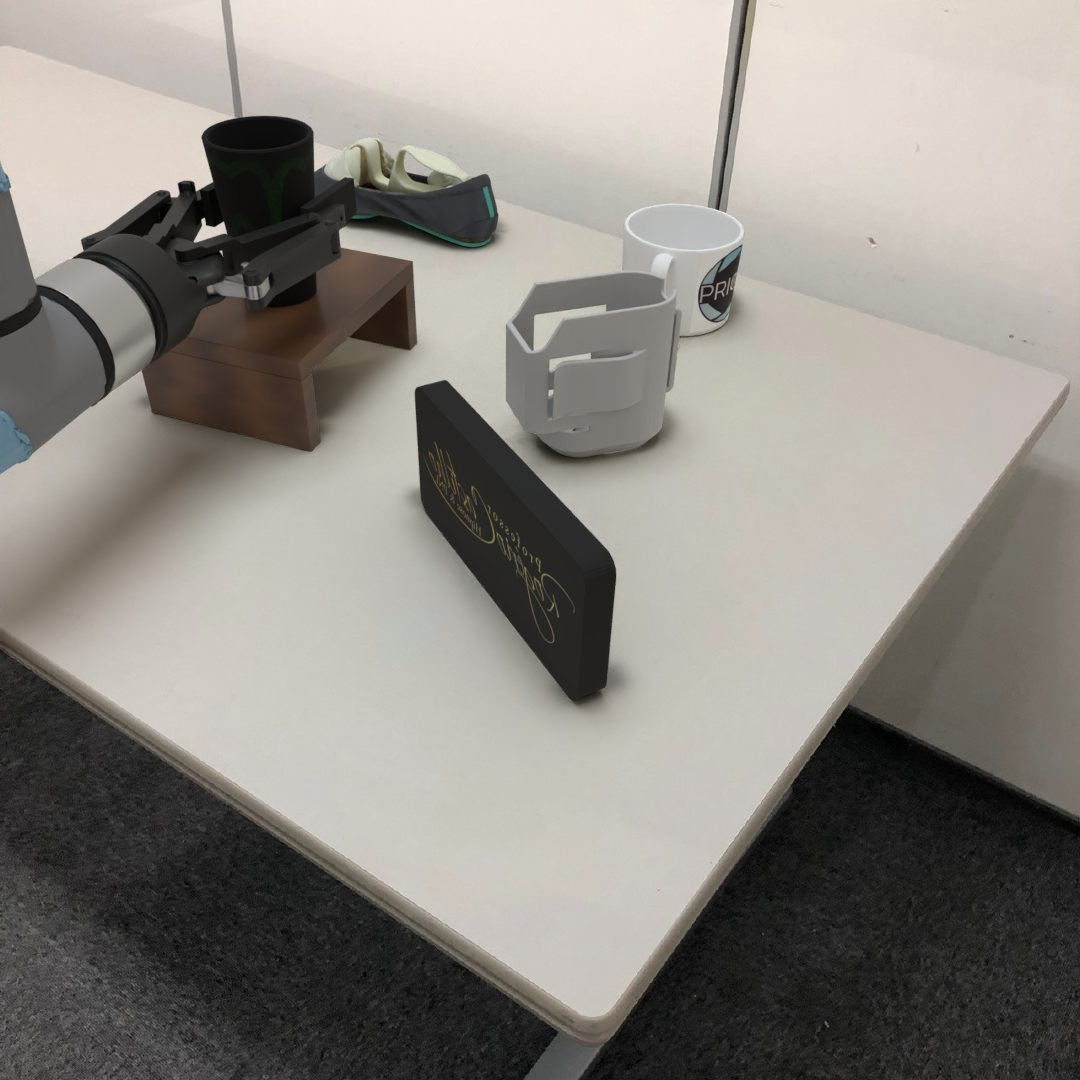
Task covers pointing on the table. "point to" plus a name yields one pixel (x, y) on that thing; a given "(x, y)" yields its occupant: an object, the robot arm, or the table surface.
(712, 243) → the mug
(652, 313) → the cable organizer
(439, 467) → the nameplate
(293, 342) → the shelf
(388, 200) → the ballet flat
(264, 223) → the cup
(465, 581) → the table surface
